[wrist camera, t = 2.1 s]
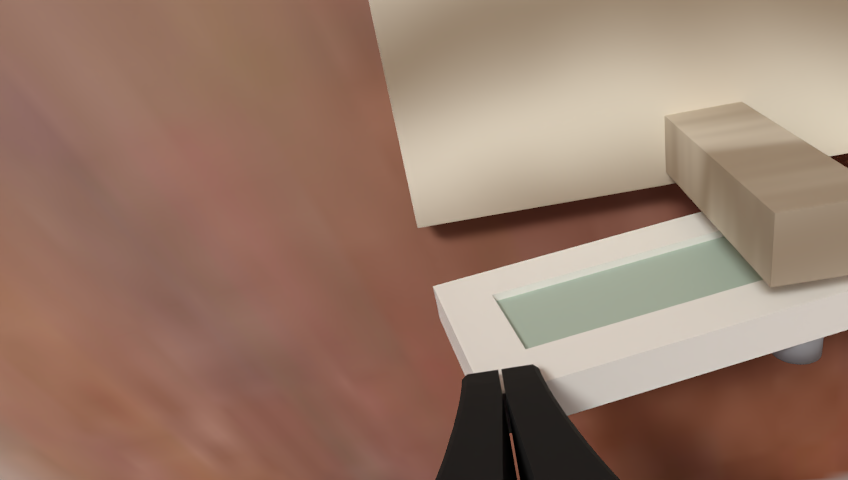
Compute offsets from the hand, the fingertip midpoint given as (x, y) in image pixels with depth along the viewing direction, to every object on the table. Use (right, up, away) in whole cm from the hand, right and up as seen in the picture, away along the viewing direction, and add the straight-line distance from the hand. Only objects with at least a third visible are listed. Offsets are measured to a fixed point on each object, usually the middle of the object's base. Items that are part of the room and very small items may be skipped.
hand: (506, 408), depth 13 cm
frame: (+5, +3, +5) cm, 8 cm away
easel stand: (+5, +9, +4) cm, 12 cm away
